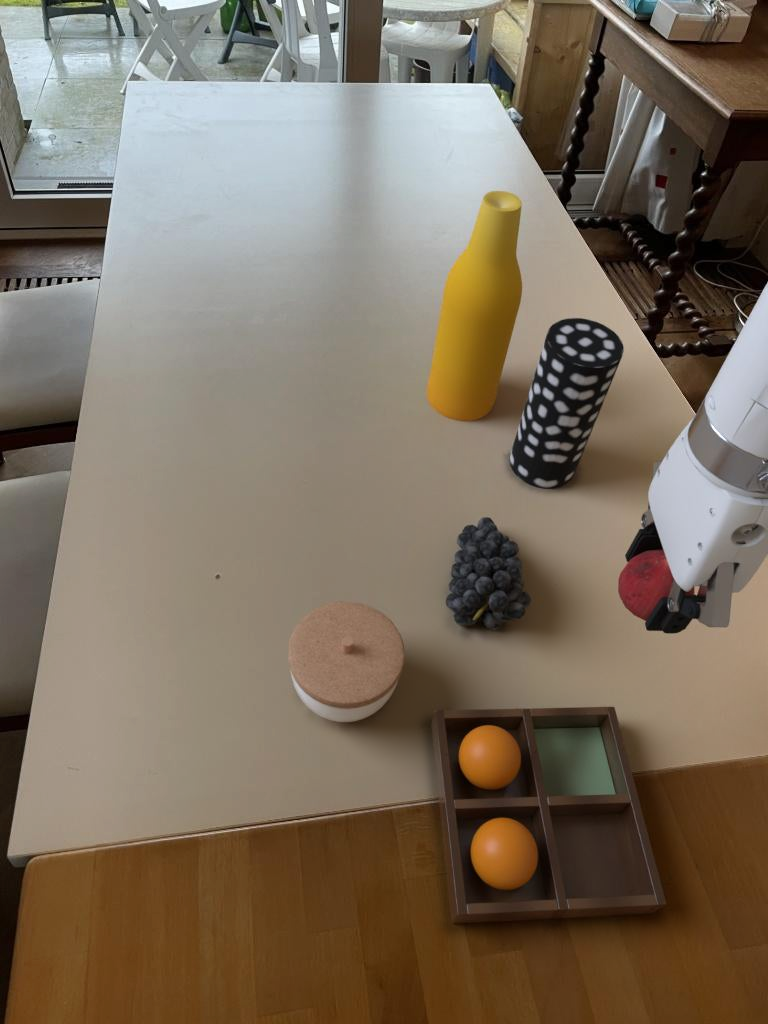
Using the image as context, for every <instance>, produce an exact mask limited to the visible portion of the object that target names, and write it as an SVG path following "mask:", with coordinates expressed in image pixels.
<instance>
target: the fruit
mask: <svg viewBox="0 0 768 1024" xmlns="http://www.w3.org/2000/svg"><path fill="white" fill-rule="evenodd" d="M456 544H457V545H458V547H459V548H460V549H459V550H457V551H456V553H455V554H454V562H455V563H454V564H452V566H451V570H450V576H451V581H450V582H449V583H448V588H449V591H450V592H451V593H449V594H448V595H447V596H446V598H445V605H446V607H447V608H448V609H450V610H451V611H452V612H453V619H454V622H455V623H456V624H457V625H458V626H461V627H469V626H470V627H471V626H473V625H474V624H476V623H478V622H480V623H481V622H483V624H484V626H485V627H486V628H487V629H489V630H491V631H496V630H499V629H500V628H502V626H503V624H504V623H509V622H512V621H513V620H514V619H515V620H520V619H521V618H523V616H525V614H526V608H527V607H529V606H530V604H531V602H532V597H531V596H530V594H529V592H526V591H524V587H525V582H524V578H522V577H523V573H522V571H523V570H522V569H523V561H522V560H521V558H520V557H519V556H517V555H518V554H519V552H520V546H519V545H518V543H517V542H515V541H514V540H511V539H510V537H509V536H507V535H505V534H503V533H502V532H501V531H499V529H498V527H497V524H495V522H494V521H493V519H492V517H488V516H485V517H481V518H480V519H479V520H478V521H477V526H476V525H474V524H467V525H466V526H464V528H463V529H462V532H461V533H460V534H458V536H457V538H456Z"/></svg>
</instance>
